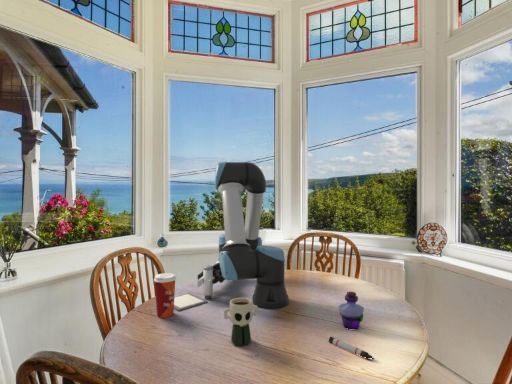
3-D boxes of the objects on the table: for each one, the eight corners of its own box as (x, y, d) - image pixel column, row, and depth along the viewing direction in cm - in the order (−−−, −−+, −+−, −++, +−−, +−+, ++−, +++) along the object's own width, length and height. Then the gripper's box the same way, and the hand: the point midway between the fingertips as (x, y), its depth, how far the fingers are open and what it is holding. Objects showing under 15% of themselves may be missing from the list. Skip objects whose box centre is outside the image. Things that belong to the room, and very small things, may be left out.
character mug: (226, 350, 101) (225, 307, 101) (221, 339, 108) (221, 299, 108) (261, 345, 104) (260, 303, 104) (254, 335, 111) (254, 295, 111)
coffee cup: (170, 319, 123) (170, 279, 123) (149, 318, 125) (149, 278, 125) (180, 311, 132) (179, 273, 131) (160, 309, 133) (160, 272, 133)
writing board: (207, 302, 141) (207, 300, 141) (178, 311, 132) (178, 309, 132) (189, 294, 151) (189, 292, 151) (160, 302, 142) (160, 300, 142)
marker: (328, 343, 106) (328, 337, 106) (332, 341, 107) (332, 335, 107) (372, 364, 94) (372, 357, 94) (376, 361, 95) (376, 354, 95)
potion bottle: (365, 333, 112) (366, 297, 112) (339, 331, 114) (339, 295, 114) (362, 322, 121) (362, 289, 120) (337, 320, 122) (337, 288, 122)
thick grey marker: (214, 297, 146) (214, 266, 146) (207, 299, 143) (206, 268, 143) (209, 295, 149) (209, 264, 149) (201, 297, 146) (201, 266, 146)
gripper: (237, 278, 162) (223, 294, 139) (203, 276, 165) (184, 291, 142) (237, 262, 162) (223, 276, 139) (203, 261, 165) (184, 274, 142)
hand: (203, 283), depth 141 cm, fingers closed on thick grey marker, 4 cm apart
